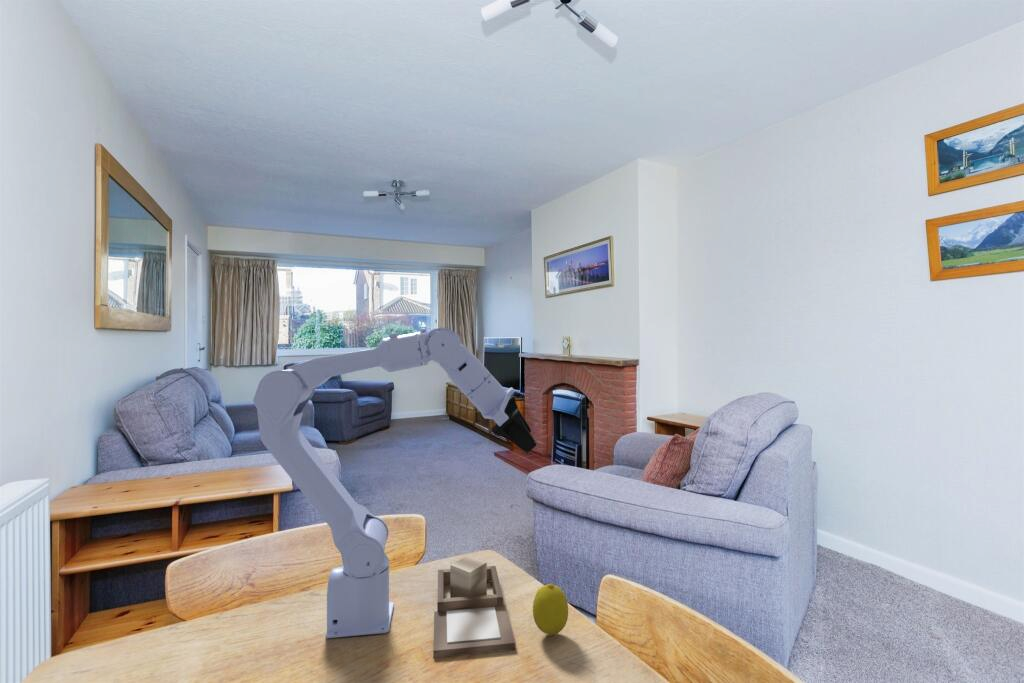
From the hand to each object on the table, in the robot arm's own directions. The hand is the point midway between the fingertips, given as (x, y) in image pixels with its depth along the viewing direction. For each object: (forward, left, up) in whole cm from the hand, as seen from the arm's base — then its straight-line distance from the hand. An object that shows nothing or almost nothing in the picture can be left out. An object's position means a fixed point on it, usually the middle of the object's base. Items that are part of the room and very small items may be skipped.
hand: (529, 441), depth 81 cm
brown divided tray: (-10, -1, -28) cm, 30 cm away
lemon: (+2, -9, -29) cm, 30 cm away
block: (-10, +4, -29) cm, 31 cm away
